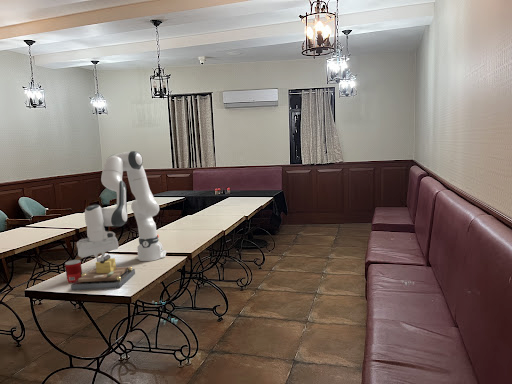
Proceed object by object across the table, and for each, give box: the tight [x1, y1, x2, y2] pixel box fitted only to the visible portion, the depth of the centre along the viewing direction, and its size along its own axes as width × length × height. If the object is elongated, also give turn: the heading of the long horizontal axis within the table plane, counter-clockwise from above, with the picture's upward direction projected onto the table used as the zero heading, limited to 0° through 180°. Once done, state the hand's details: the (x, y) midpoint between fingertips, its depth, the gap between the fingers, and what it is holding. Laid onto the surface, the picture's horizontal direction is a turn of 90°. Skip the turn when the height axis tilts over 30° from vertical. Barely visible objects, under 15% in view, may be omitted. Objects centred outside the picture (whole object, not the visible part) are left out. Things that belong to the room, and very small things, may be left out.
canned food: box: [64, 259, 83, 284], centre depth 223 cm, size 8×8×11 cm
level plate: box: [78, 254, 129, 282], centre depth 218 cm, size 19×20×10 cm
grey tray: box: [70, 266, 136, 291], centre depth 218 cm, size 22×26×5 cm
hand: (100, 261), depth 211 cm, fingers closed
